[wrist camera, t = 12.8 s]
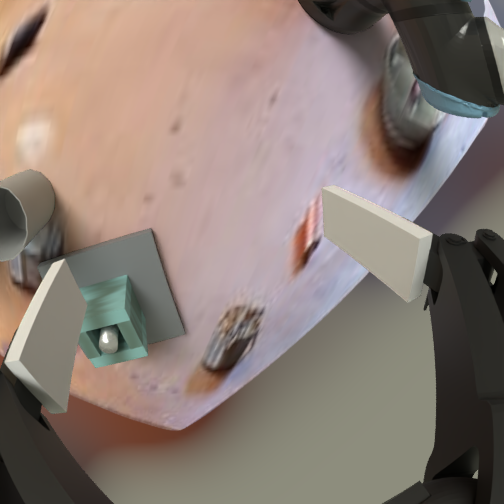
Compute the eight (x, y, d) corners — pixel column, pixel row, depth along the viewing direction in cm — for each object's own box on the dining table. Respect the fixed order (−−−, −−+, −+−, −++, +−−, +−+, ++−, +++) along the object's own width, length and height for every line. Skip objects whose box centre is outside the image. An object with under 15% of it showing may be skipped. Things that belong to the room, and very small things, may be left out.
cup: (6, 169, 25) (-31, 185, 17) (55, 169, 28) (26, 184, 20) (8, 229, 28) (-23, 259, 20) (55, 231, 31) (30, 264, 23)
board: (151, 228, 36) (151, 231, 35) (183, 328, 45) (185, 334, 43) (40, 262, 32) (37, 267, 31) (88, 352, 40) (88, 358, 39)
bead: (127, 274, 36) (124, 308, 29) (145, 318, 40) (148, 355, 33) (77, 288, 34) (67, 323, 27) (99, 330, 38) (95, 367, 31)
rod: (116, 296, 37) (112, 337, 29) (122, 309, 38) (120, 351, 30) (102, 300, 36) (95, 341, 28) (108, 313, 37) (104, 355, 30)
